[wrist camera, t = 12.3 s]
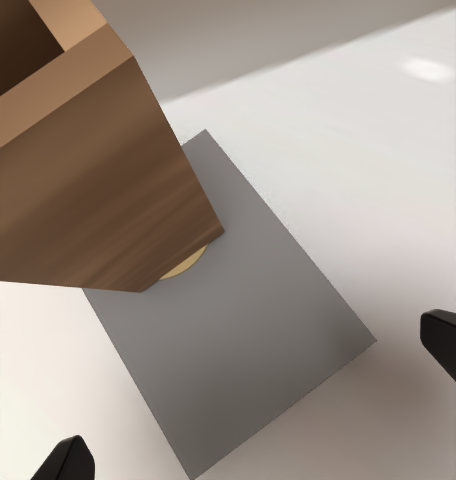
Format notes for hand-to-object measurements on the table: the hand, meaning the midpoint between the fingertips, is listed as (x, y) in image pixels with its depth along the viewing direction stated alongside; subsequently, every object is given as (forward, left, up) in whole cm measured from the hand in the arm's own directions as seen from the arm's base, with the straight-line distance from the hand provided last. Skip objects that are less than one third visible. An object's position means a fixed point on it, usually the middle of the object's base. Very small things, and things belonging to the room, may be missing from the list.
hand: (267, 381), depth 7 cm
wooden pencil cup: (+5, +8, -8) cm, 12 cm away
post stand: (+2, +4, -10) cm, 11 cm away
